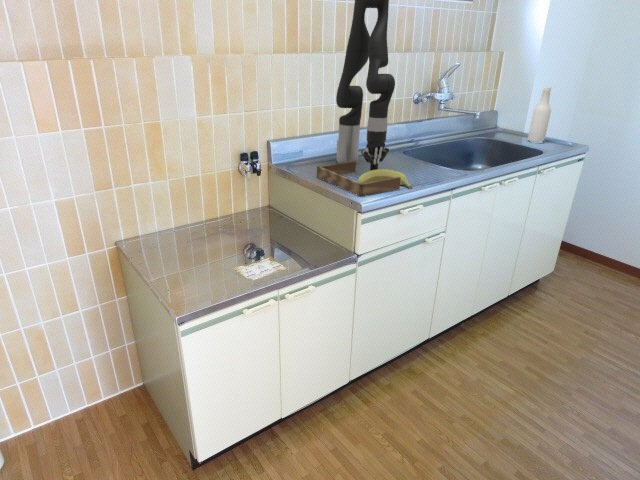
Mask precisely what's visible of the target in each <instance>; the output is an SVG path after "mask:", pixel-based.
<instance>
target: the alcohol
mask: <svg viewBox="0 0 640 480" xmlns="http://www.w3.org/2000/svg"><path fill="white" fill-rule="evenodd" d="M551 91H552V86H551V87H550V86H543V89H542V93H541V97H540V100H539V103H538V104H537V105H536V106H535V107H534V110H533V112H532V117H531V121H530V127H529V131H528V136H527V141H528V140H532V141H543V140H544V139H545V140H546V135H547V131H548V126H549V123H550V119H551V113H552V109H551V106H550V97H551ZM545 140H544V141H545Z"/></svg>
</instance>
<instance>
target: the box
mask: <svg viewBox="0 0 640 480" xmlns="http://www.w3.org/2000/svg"><path fill="white" fill-rule="evenodd" d="M356 167H357V165H356V161H351V162H344V163H338V162H337V163H333V164H327V165H326V164H325V165H318V166H317V167H316V178H317V177H319V178H321V179H324V180H326V181H328V182H330V183H332V184H331V185H333V184H334V185H333V186H335V185H336V186H335V187H337V186H339V187H341V188H340V189H342V188H343V189H342V190H344V189H345V190H344V191H346V190H347V192H348V191H350V192H352V193H351V194H353V193H354V194H353V195H355V194H357V195H359V196H363V197H366V196H365V195H368V196H373V195H375V194H376V195H377V194H382V193H387V192H393V191H397V190H400V188H401V185H400V180H401V177H395V178H390V179H385V180H379V181H374V182H369V183H363V184H361V183H359V182H357V181H356V180H354V179H352V178H349V177H346V176H344V175H345V174H352V173H356ZM319 178H318V179H319ZM321 179H320V180H321ZM324 180H323V181H324ZM326 181H325V182H326ZM328 182H327V183H328ZM330 183H329V184H330ZM339 187H338V188H339ZM350 192H349V193H350ZM372 194H373V195H372ZM357 195H356V196H357ZM359 196H358V197H359Z"/></svg>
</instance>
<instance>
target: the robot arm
mask: <svg viewBox="0 0 640 480" xmlns="http://www.w3.org/2000/svg"><path fill="white" fill-rule="evenodd" d="M389 4H390V0H354V6H353V15H352V19H351V25H350V26H351V27H350V32H349V37H348V39H347V40H348V41H347V46H346V51H345V56H344V63H343V67H342V72H341V76H340V80H339V83H338V87H337V91H336V98H335V99H336V105H337V107H338V108H340V109H350V110H349V112H348V113H346V114H344V115H341V116H340V117H338V118H339V119H338V139H337V141H336V158H335V159H336V160H335V161H336V162H337V164H338V163H344V162H351V161H356V164H358V161H359V149H360V148H359V146H360V133H361V132H360V131H361V130H360V129H361V120H362V109H363V102H364V91H363V88H362V86H360V85H351V83H352V81H353V79H354V78H355V77H356V75H357V74H359V72H360V71H361V70H362V69H363V67H365V65H366V64H367V63H368V69H367V70H368V71H367V77H366V81H365V86H366V90H367V91H368V93H369V94H372V95H379V97H378V98H377V99H375V100H374V99H373V100H372V101H370V103H369V106H368V107H369V110H368V119H367V125H366V126H367V127H366V142H367V143H366V145H365V149H363V150H361V151H360V153H361V155H362V156H363V158H364V160H365V161H366V163H370V166H369V171H371V170H377V169H379V164H380V163H382V162H383V161H384V159H385V158H386V156H387V154H389V151H390V149H389V148H388V147H386V144H385V142H386V141H387V133H388V113H389V105H390V103H391V100H392V97H393V94H394V92H395V87H396V80H395V77H394V75H393V74H392V73H379V70H380V69H382V68H385V67H387V66H388V65H389V50H388V23H389V8H390V7H389ZM367 9H377V19H376V23H375V25H374V27H373V29H372V31H371V33H369V30H368V27H367V25H366V21H365V18H366V17H365V15H366V11H367Z"/></svg>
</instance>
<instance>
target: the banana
mask: <svg viewBox="0 0 640 480" xmlns="http://www.w3.org/2000/svg"><path fill="white" fill-rule="evenodd" d="M395 177H401V180H400V186H406V187H407V188H408V189H409V188H411V189H413V185H412V184H410V183H409V181H408V179H407V176H406V175H405V174H404V173H402V172H400V171H397V170H392V169H388V168H387V169H386V168H380V169H379V168H378V169H377V170H371V171H370V170H367V171H366V172H364V173H362V174H361V175H360V176H359V178H358V179H357V181H356V182H359V183H361V184H363V183H369V182H374V181H379V180H385V179H390V178H395Z"/></svg>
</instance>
